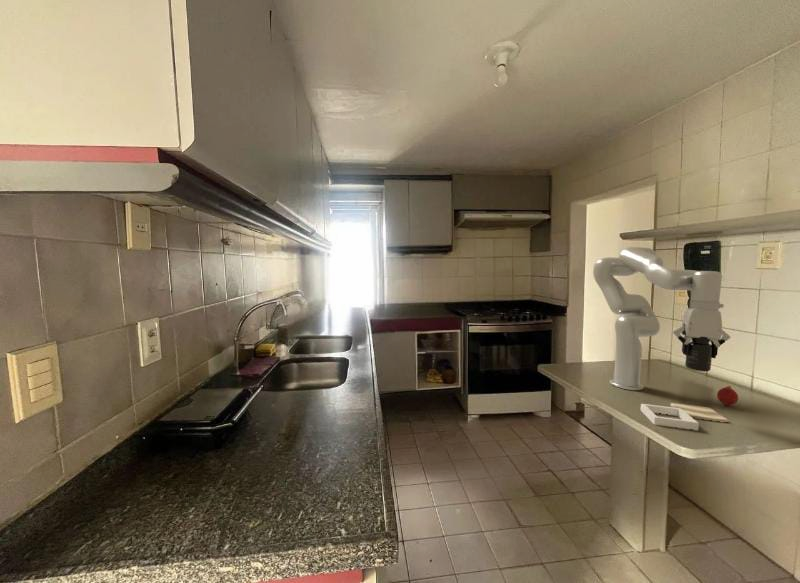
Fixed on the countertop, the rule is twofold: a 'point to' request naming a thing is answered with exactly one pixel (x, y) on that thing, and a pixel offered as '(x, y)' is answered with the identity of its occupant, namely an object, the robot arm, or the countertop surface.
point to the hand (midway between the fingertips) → (698, 355)
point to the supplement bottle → (699, 354)
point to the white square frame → (685, 423)
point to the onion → (727, 396)
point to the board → (700, 412)
